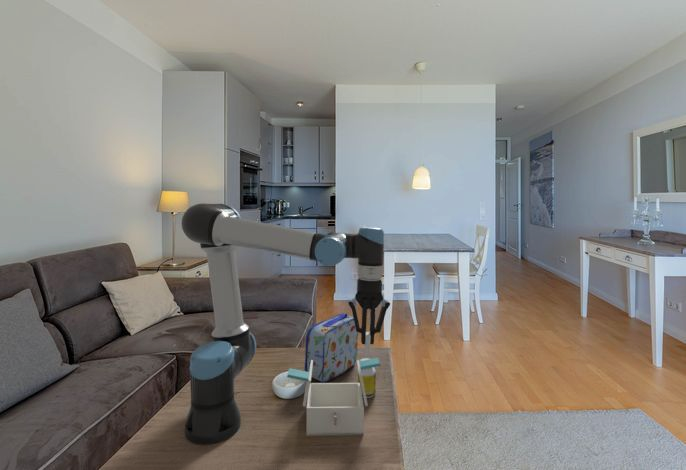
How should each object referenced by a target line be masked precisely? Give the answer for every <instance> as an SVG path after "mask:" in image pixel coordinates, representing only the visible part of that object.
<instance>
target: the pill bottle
mask: <svg viewBox="0 0 686 470" xmlns="http://www.w3.org/2000/svg"><path fill="white" fill-rule="evenodd" d="M369 359H370V358H367V357H365V358H361V359H359V361H364V360H369ZM376 370H377V369H375V367H372V368H367V369H362V370H361V373H362V378H363V383H364V388H365V394H366V399H370V398H373V397H375V395H376V390H377V389H376V386H377V385H376V383H377V382H376V381H377V378H376V377H377V371H376ZM356 383H360V387H361V382H360V377H359V371H358V368H357V369H356ZM361 393H362V399H364V397H363V392H362V387H361Z"/></svg>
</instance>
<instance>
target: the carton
mask: <svg viewBox="0 0 686 470" xmlns="http://www.w3.org/2000/svg"><path fill="white" fill-rule="evenodd" d="M364 417H365V404H364V398H363V397H362V393H361V387H360V383H357V382H324V383H323V382H311V383H310V387H309V392H308V396H307V401H306V436H307V437H308V436H310V437H311V436H363V435H364V434H365V433H364V430H365V429H364V428H365V425H364V423H365V422H364V420H365V419H364Z"/></svg>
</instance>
